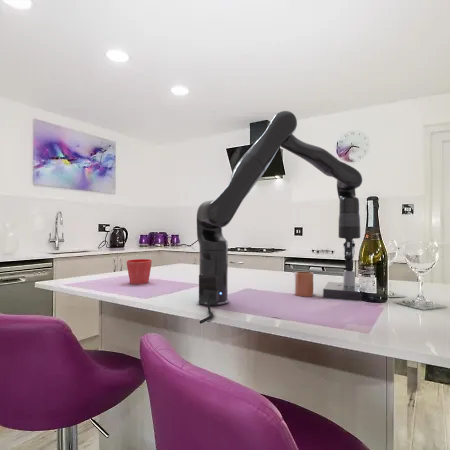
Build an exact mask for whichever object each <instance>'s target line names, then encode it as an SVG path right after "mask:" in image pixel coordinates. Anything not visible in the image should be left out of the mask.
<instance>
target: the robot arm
mask: <svg viewBox="0 0 450 450" xmlns="http://www.w3.org/2000/svg"><path fill="white" fill-rule="evenodd" d="M297 127H298V119H297V117H296V115H295V114H294V113H293V112H292V111H289V110H282V111H278V112H277V113H276V114H275V115H274V116H273V117H272V119H271V120H270V122H269V123H268V125H267V128H266V129H265V131H264V132H263V134H262V135H261V136H260V137H259V138H258V139H257V140H256V141H255V142H254V143H253V144H252V145H251V146H250V148H249V149H248V150H247V151H246V152H245V153H244V154H243V155H242V156H241V158H240V159H239V160H238V162H237V163H236V165H235V166H234V168H233V169H232V173H231V176H230V179H229V182H228V184H227V186H226V187H225V188H224V189H223V190H222V192H221V193H220V194H219V195H218V196H217V197H216V198H215V199H210V200H206V201H204V202H203V201H202V203H200V205H199V206H198V208H197V211H196V238H197V242H198V247H199V248H198V249H199V255H198V256H199V261H198V262H199V263H198V264H199V266H198V270H199V271H198V273H199V275H198V304H199V305H204V306H206V307H207V310H208V314H209V315H208V316H207V317H205V318H203V319H201V320H200V321H199V324H203V323H205V322H207V321H209V320H211V319H212V318H213V317H214V313H213V312H212V309H211V306H214V307H217V306H221V305H227V304H228V303H229V299H228V296H229V295H228V294H229V291H228V289H229V288H228V287H229V286H228V285H229V283H228V282H229V281H228V279H229V274H228V273H229V243H228V240H227V239H226V238H225V237H224V234H223V228H224V227H227V226H228V225H229V224H230V222H231V221H232V220H233V218H234V217H235V214H236V213H237V211H238V210H239V207H240V206H241V204H242V203H243V202H244V200H245V198H246V197H247V196H248V195H249V193H250V192H251V191H252V189H253V188H254V186H255V185H256V184H257V183H258V181H259V180H260V179H261V178H262V176H264V173H265V172H266V171H267V169H268V168H269V166H270V164H271V163H272V161H273V159H274V158H275V156H276V154H277V152H278V151H279V149H280V148H282V149H285V150H286V151H288V152H290V153H292V154H293V155H295V156H297V157H299V158H301V159H303V160H304V161H306V162H307V163H309V164H310V165H311V166H313V167H314V168H316V169H317V170H318V171H319V172H321V173H322V174H324V175H325V176H327V177H331V178H333V179H335V180H336V191H337V195H338V200H339V201H338V203H339V205H338V211H339V212H338V213H339V214H338V238H339V239H344V240H345V242H344V243H343V244H342V246H343V247H342V248H343V255H344V261H345V263H344V264H345V268H344V269H345V270H346V271H352V270H353V268H354V257H355V254H356V253H355V251H356V250H355V249H356V243H355V240H356V239H361V213H360V208H361V207H360V206H361V203H360V198H359V197H357V194H356V189H358V188H359V187H361V185H362V184H363V176H362V173H361V172H360V171H359V170H357V168H355V167H353V166H351V165H350V164H347V163H346V162H344V161H341V160H340V159H338V158H337V157H335V156H334V155H333V154H332V153H331V152H329V150H326V149H325V148H323V147H320V146H317V145H314V144H310V143H308V142H305V141H303V140H301V139H299V138H298V137H296V136H295V135H294V133H295V132H296V130H297Z"/></svg>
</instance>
